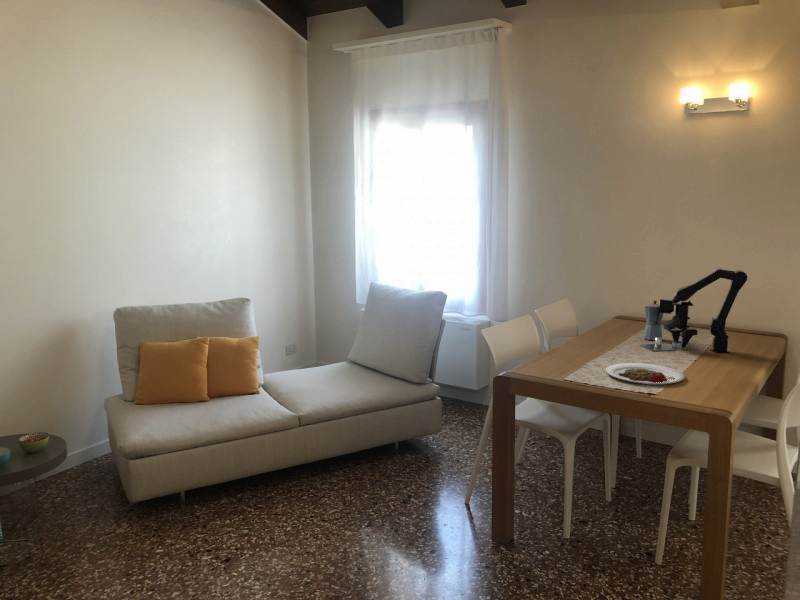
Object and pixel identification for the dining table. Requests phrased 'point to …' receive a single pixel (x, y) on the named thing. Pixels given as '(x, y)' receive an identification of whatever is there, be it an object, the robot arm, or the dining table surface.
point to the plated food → (644, 373)
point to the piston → (658, 346)
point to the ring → (678, 345)
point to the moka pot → (653, 322)
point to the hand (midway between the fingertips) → (679, 346)
